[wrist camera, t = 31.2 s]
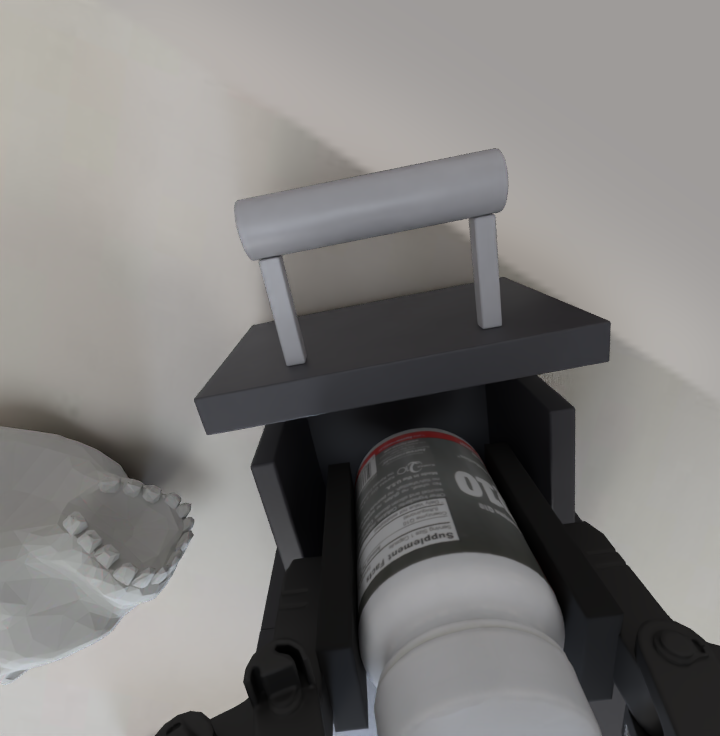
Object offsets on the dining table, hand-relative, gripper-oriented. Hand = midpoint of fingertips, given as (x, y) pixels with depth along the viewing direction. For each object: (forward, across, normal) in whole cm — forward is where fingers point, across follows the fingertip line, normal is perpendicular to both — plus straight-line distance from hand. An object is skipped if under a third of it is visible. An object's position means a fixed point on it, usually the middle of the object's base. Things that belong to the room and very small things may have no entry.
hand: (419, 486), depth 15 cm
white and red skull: (+7, -19, -3) cm, 21 cm away
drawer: (+6, 0, +1) cm, 6 cm away
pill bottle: (+1, 0, 0) cm, 1 cm away
